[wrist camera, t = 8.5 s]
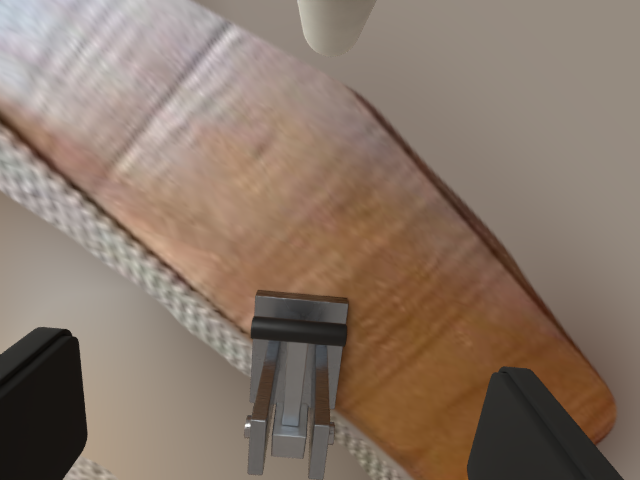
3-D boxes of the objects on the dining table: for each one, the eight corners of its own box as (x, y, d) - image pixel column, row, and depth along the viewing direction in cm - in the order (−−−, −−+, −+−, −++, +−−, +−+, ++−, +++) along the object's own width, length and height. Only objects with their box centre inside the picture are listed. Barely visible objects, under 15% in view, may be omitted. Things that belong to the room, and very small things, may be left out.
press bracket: (257, 289, 35) (227, 372, 23) (347, 297, 35) (361, 384, 24) (251, 393, 38) (223, 511, 27) (333, 400, 38) (340, 519, 27)
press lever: (256, 303, 22) (248, 337, 20) (346, 311, 22) (347, 345, 20) (256, 421, 28) (250, 455, 27) (324, 426, 29) (323, 460, 27)
